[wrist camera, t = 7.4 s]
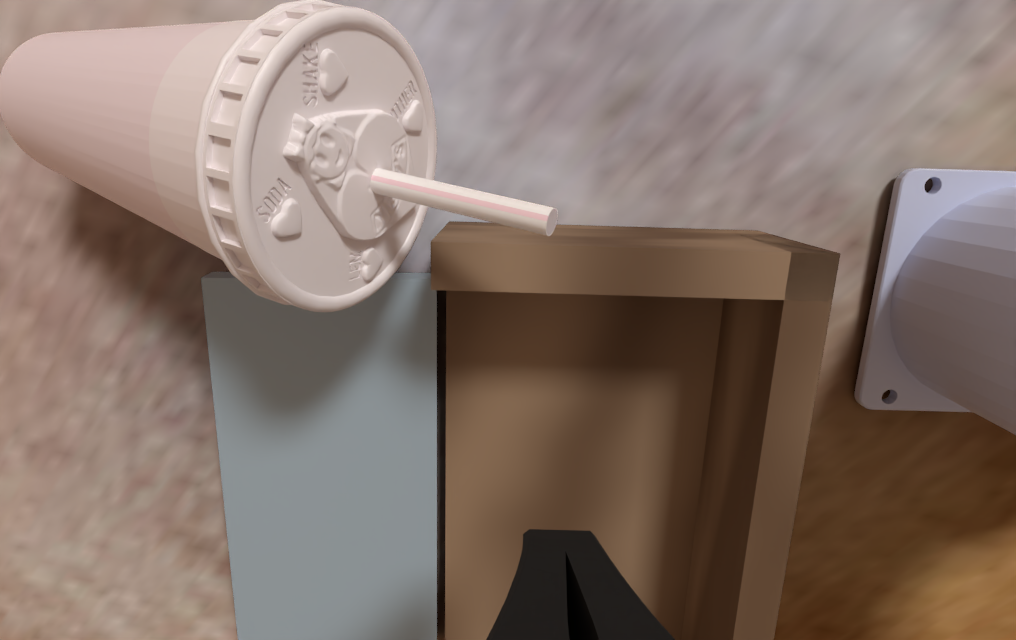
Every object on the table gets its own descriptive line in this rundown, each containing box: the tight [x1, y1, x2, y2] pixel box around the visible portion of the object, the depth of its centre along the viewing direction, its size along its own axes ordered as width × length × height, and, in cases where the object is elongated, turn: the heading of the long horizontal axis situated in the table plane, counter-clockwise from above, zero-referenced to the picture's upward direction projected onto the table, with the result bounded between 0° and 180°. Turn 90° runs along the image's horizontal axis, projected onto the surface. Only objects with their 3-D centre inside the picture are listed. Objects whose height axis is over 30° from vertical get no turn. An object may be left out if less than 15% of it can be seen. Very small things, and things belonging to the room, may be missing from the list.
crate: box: [431, 222, 840, 640], centre depth 19 cm, size 10×18×5 cm, turn 178°
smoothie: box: [0, 0, 558, 312], centre depth 14 cm, size 6×6×14 cm
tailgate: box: [201, 272, 437, 640], centre depth 21 cm, size 1×14×7 cm
